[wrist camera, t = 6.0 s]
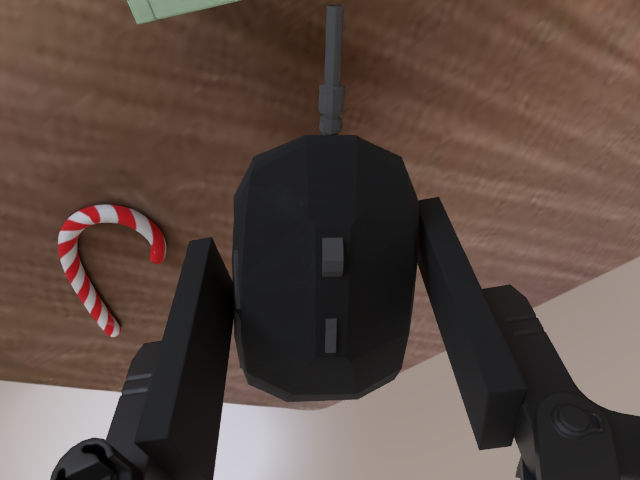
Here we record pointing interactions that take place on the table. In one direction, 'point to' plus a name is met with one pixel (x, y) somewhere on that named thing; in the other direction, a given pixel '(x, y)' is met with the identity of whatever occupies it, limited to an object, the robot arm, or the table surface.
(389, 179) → the gaming mouse
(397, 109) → the table surface
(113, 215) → the candy cane
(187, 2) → the open rectangular box
